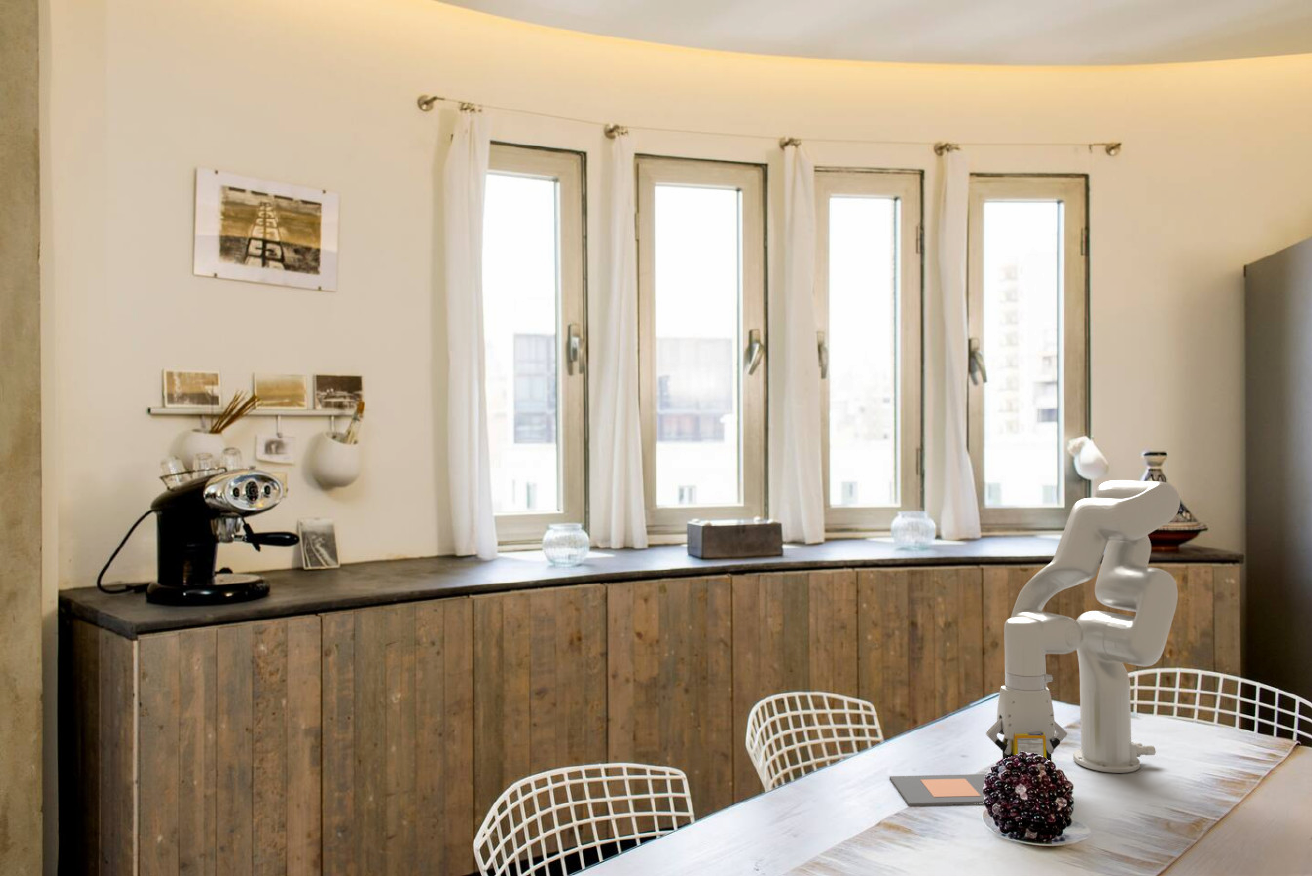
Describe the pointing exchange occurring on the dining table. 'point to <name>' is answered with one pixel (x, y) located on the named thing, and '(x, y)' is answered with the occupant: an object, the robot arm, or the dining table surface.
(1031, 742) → the supplement box
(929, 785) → the mat
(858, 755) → the dining table surface
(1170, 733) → the dining table surface
